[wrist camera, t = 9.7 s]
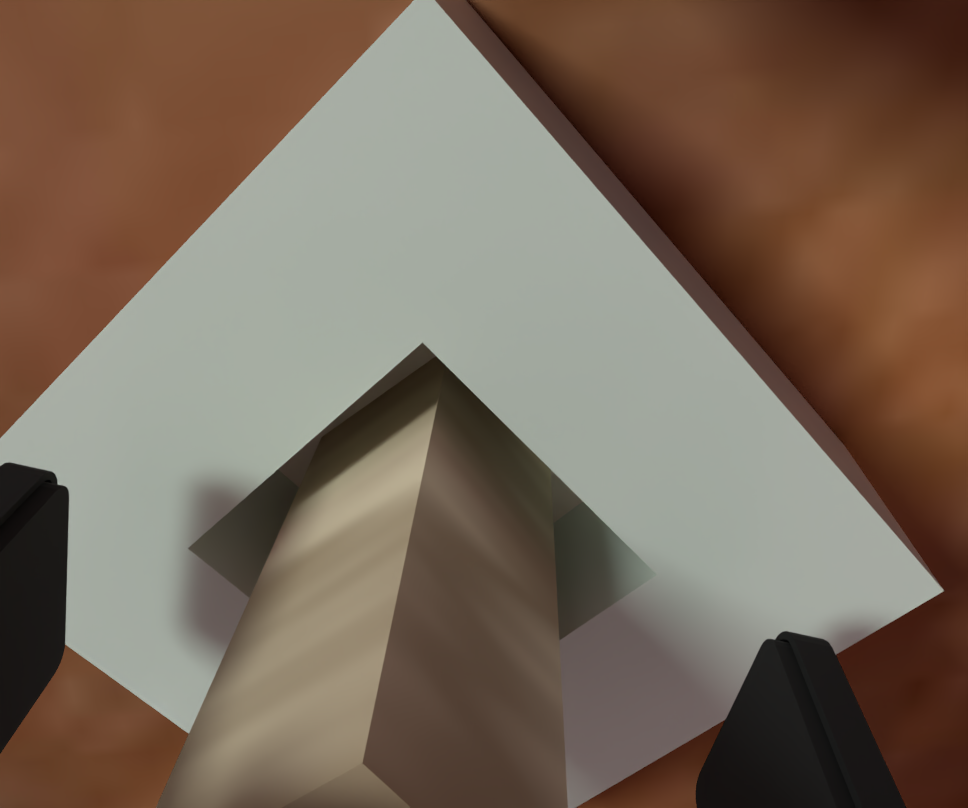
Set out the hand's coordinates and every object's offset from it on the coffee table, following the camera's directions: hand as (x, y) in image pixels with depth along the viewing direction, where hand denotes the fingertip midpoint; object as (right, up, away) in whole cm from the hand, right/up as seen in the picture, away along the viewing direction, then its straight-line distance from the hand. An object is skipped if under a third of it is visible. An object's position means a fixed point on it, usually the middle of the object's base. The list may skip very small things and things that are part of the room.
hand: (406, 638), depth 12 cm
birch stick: (0, +2, +4) cm, 5 cm away
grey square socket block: (0, +3, +6) cm, 6 cm away
